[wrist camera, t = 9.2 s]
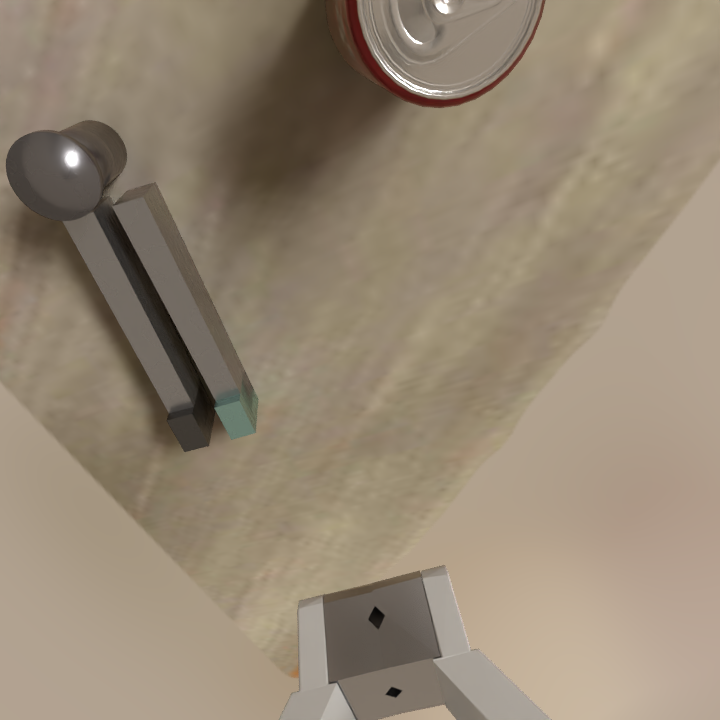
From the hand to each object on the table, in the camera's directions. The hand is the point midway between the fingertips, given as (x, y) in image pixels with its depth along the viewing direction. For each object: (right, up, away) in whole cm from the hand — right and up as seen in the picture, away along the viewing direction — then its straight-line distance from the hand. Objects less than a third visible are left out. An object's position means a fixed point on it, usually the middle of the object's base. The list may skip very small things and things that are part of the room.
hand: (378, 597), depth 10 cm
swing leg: (-11, +8, +25) cm, 29 cm away
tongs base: (-14, +10, +24) cm, 29 cm away
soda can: (+1, +24, +18) cm, 30 cm away
